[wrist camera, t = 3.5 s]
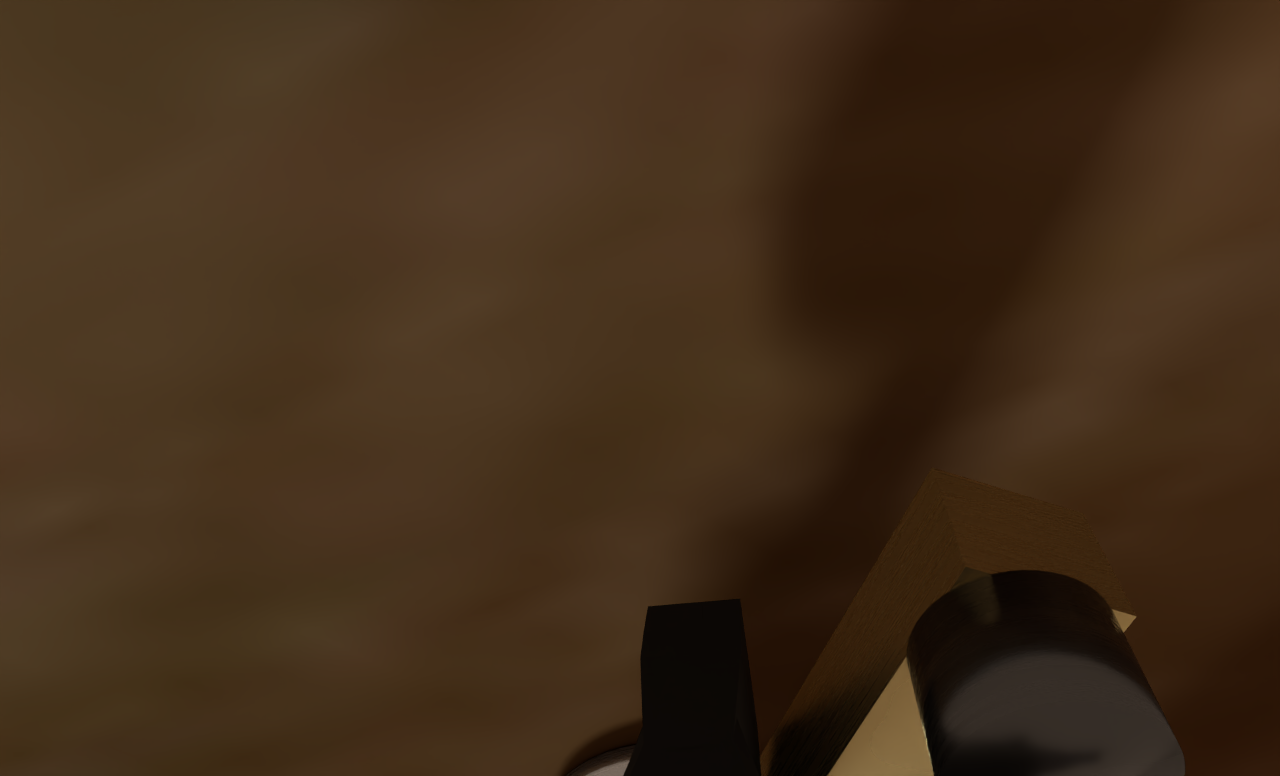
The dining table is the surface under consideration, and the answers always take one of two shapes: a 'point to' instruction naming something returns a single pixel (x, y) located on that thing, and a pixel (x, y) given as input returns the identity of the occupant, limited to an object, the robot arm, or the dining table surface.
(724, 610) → the robot arm
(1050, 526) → the brass drawer handle
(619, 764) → the pivot post
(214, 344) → the dining table surface
